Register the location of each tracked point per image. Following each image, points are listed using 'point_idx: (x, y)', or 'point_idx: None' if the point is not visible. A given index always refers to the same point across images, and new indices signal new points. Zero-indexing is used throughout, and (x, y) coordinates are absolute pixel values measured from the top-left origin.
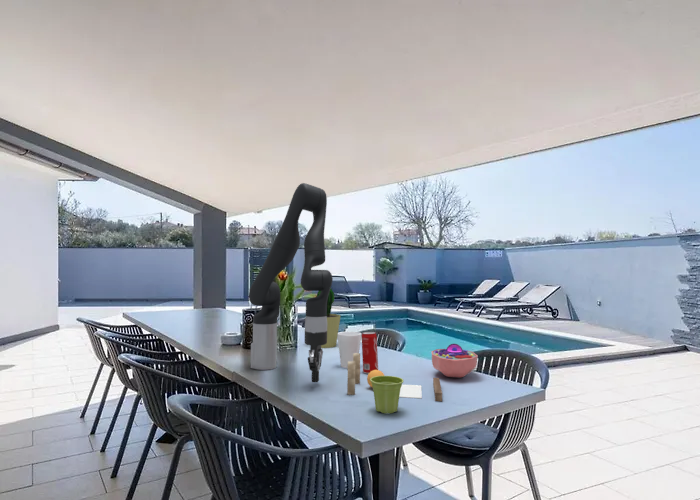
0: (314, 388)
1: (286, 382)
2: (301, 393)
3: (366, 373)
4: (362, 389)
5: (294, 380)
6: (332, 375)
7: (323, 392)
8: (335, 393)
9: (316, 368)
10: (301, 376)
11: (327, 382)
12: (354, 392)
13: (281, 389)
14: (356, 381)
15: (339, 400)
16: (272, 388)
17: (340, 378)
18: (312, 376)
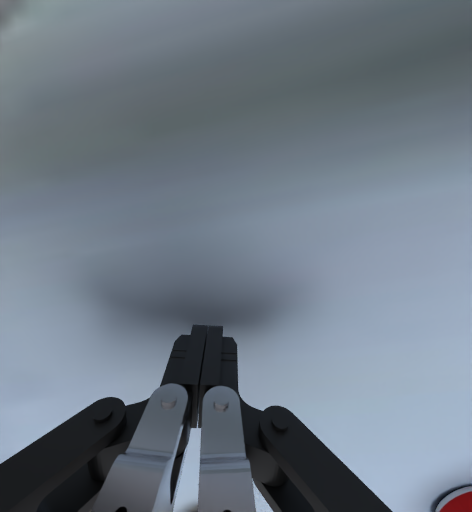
0: (166, 323)
1: (289, 110)
2: (44, 270)
3: (446, 496)
4: (193, 491)
5: (348, 167)
6: (447, 377)
7: (104, 371)
8: None
9: (75, 474)
10: (461, 201)
11: (297, 369)
12: None
13: (86, 112)
14: None
15: (8, 437)
16: (90, 16)
17: (376, 414)
18: (173, 357)
